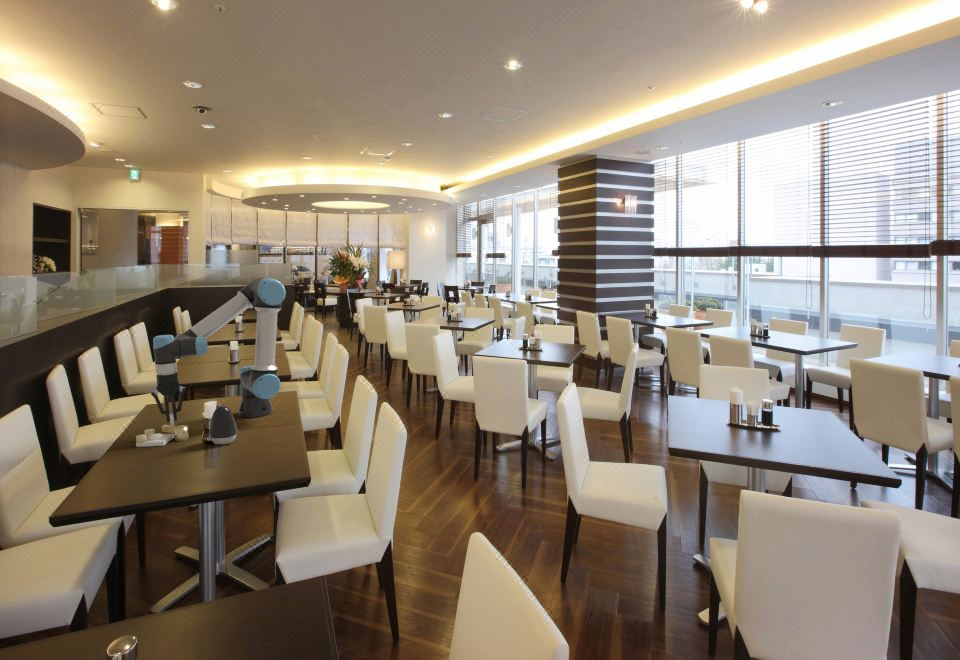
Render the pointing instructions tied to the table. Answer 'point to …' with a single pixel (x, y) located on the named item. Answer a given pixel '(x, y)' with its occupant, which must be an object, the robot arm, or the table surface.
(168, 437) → the levelling base
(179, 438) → the footscrew knob
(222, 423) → the dark grey egg-shaped device
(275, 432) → the table surface
